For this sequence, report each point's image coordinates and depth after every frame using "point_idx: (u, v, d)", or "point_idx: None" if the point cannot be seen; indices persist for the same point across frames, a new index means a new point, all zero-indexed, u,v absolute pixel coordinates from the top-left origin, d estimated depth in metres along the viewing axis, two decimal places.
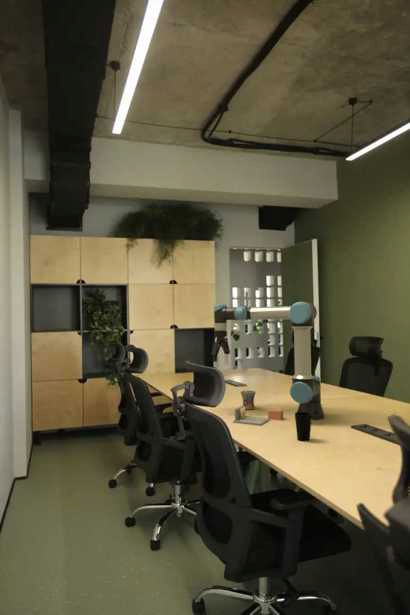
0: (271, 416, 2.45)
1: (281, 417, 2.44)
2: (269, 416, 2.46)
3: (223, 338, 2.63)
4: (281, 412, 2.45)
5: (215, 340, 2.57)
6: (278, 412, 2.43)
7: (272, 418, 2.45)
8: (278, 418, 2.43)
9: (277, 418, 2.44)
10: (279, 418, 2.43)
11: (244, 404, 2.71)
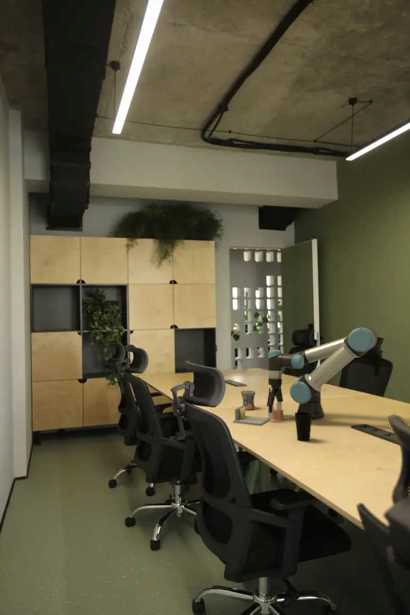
0: None
1: (281, 417, 2.44)
2: None
3: (277, 386, 2.48)
4: (281, 412, 2.44)
5: (270, 389, 2.41)
6: (278, 412, 2.43)
7: None
8: (278, 418, 2.43)
9: (277, 418, 2.44)
10: (279, 418, 2.43)
11: (244, 404, 2.71)
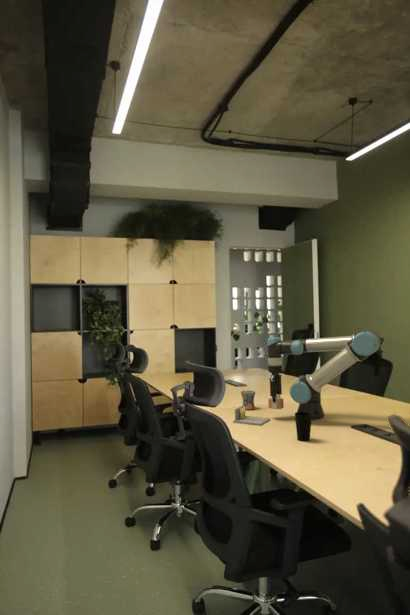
0: (271, 404, 2.45)
1: (281, 406, 2.44)
2: (269, 405, 2.46)
3: (278, 373, 2.48)
4: (281, 401, 2.44)
5: (271, 379, 2.41)
6: (278, 401, 2.43)
7: None
8: (278, 406, 2.43)
9: (277, 407, 2.44)
10: (279, 407, 2.43)
11: (244, 404, 2.71)
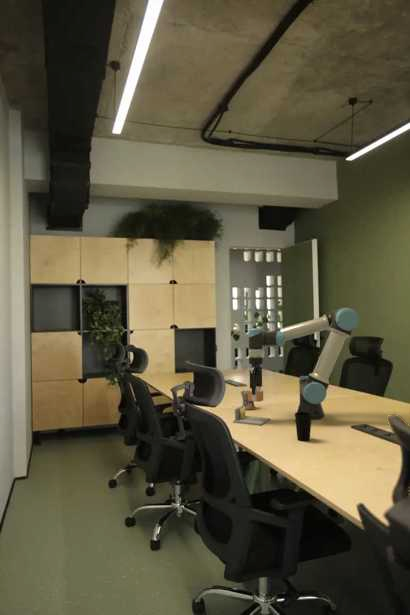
0: (251, 397, 2.39)
1: (261, 398, 2.38)
2: (248, 397, 2.40)
3: (258, 365, 2.41)
4: (261, 393, 2.38)
5: (251, 371, 2.35)
6: (257, 393, 2.37)
7: (251, 399, 2.39)
8: (257, 399, 2.37)
9: None
10: (258, 399, 2.37)
11: (244, 404, 2.71)
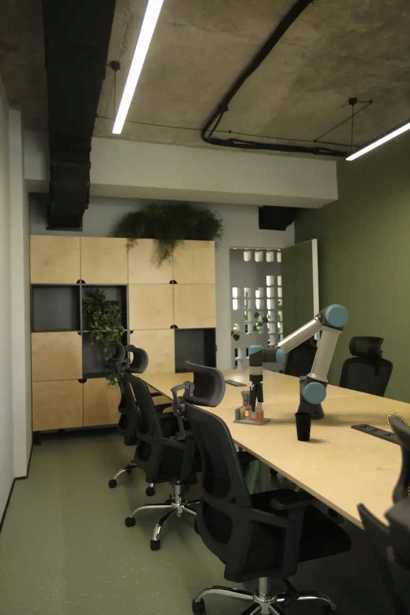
0: None
1: (261, 418, 2.38)
2: (249, 417, 2.40)
3: (259, 382, 2.41)
4: (261, 413, 2.38)
5: (251, 388, 2.35)
6: (258, 413, 2.37)
7: (252, 419, 2.39)
8: (258, 418, 2.37)
9: (257, 419, 2.37)
10: (259, 419, 2.37)
11: (244, 404, 2.71)
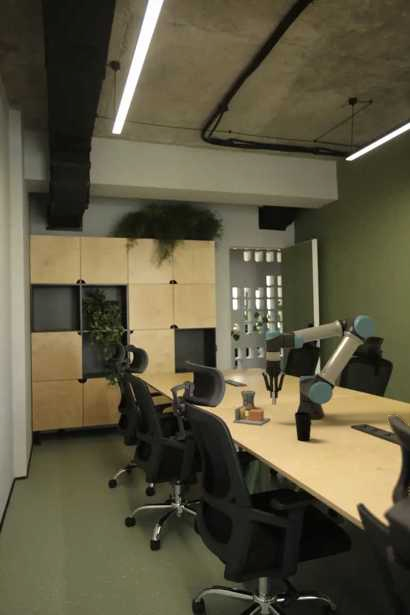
0: (251, 416, 2.39)
1: (261, 418, 2.38)
2: (249, 417, 2.40)
3: (275, 369, 2.34)
4: (261, 413, 2.38)
5: None
6: (258, 413, 2.37)
7: (252, 419, 2.39)
8: (258, 418, 2.37)
9: (257, 419, 2.37)
10: (259, 419, 2.37)
11: (244, 404, 2.71)
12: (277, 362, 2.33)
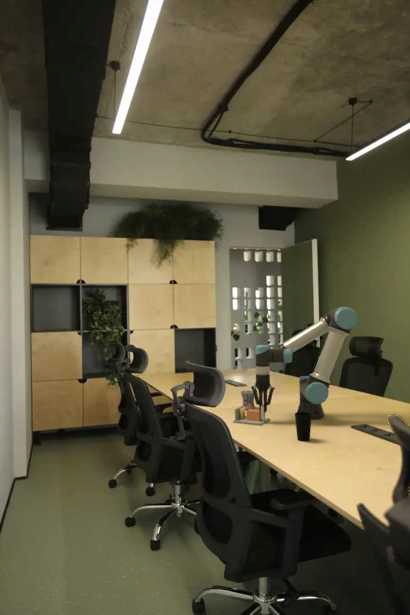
0: (250, 416, 2.39)
1: (259, 418, 2.39)
2: (247, 417, 2.40)
3: (264, 383, 2.37)
4: (260, 412, 2.39)
5: None
6: (256, 412, 2.38)
7: (250, 419, 2.39)
8: (256, 418, 2.38)
9: (255, 419, 2.38)
10: (257, 419, 2.37)
11: (244, 404, 2.71)
12: (266, 376, 2.35)
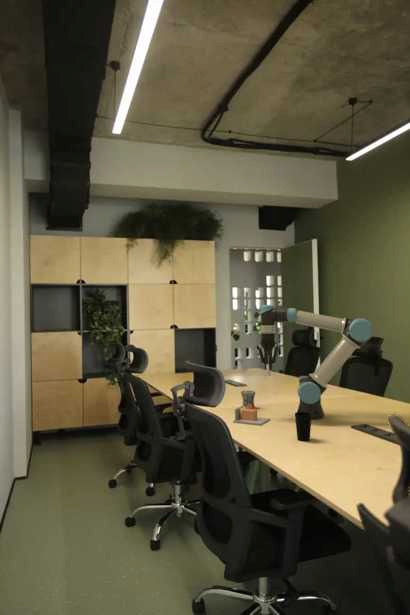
0: (245, 416, 2.41)
1: (255, 417, 2.40)
2: (243, 416, 2.41)
3: (269, 342, 2.42)
4: (255, 412, 2.40)
5: None
6: (251, 412, 2.39)
7: (246, 418, 2.40)
8: (251, 418, 2.39)
9: (250, 418, 2.39)
10: (252, 418, 2.39)
11: (244, 404, 2.71)
12: (271, 335, 2.41)
